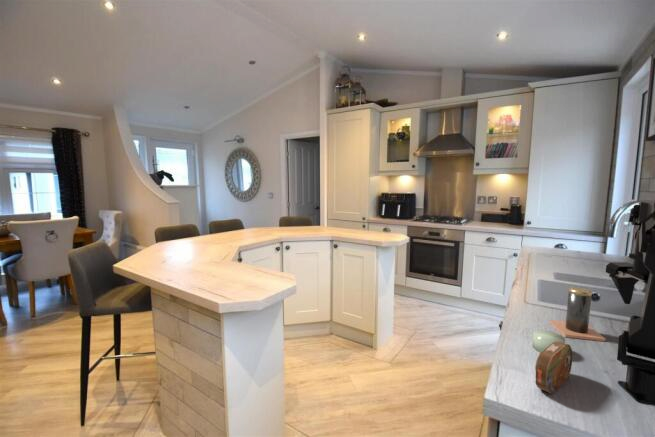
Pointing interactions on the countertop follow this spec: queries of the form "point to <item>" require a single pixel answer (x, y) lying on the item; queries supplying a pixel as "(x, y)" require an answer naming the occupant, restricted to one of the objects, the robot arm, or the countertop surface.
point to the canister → (578, 309)
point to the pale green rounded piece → (545, 339)
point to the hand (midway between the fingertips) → (642, 312)
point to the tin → (553, 366)
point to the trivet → (570, 334)
